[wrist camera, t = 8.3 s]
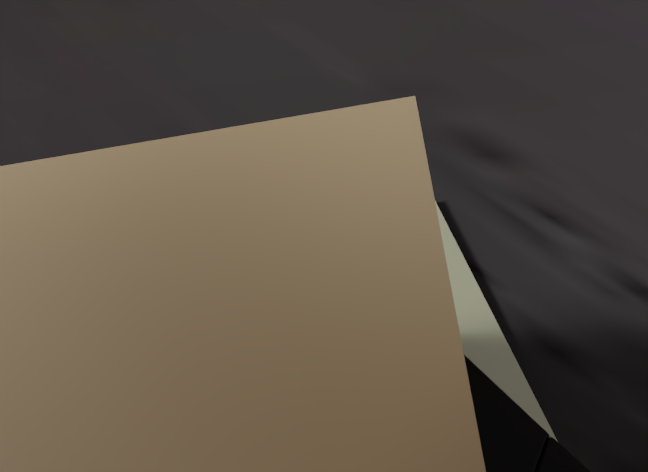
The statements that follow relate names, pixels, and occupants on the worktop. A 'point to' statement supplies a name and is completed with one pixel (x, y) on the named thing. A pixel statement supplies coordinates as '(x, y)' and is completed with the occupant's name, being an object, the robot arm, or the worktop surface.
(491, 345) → the mat
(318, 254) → the block
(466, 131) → the worktop surface
